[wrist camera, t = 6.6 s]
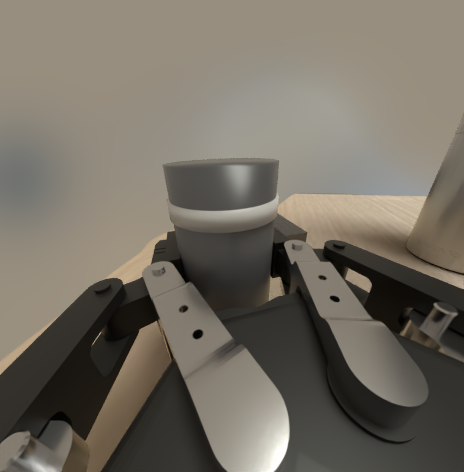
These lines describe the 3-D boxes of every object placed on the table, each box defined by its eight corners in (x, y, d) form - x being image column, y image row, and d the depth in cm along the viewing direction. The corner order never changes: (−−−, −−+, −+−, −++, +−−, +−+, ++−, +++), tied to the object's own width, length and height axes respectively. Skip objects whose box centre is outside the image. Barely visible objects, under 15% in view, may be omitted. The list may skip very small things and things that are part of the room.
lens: (251, 307, 16) (254, 156, 11) (279, 367, 11) (308, 162, 6) (193, 321, 15) (164, 161, 9) (199, 394, 10) (152, 172, 5)
